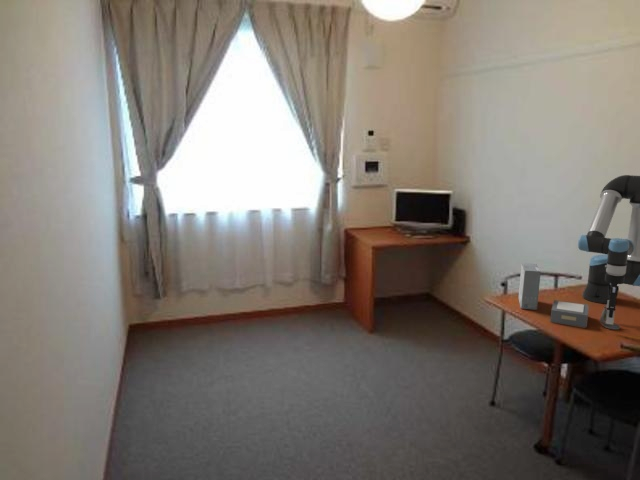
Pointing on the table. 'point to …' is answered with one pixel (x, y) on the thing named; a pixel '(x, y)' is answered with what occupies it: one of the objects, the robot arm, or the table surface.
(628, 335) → the table surface
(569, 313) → the display plinth
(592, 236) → the robot arm
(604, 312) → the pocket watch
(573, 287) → the table surface
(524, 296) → the hard drive box
